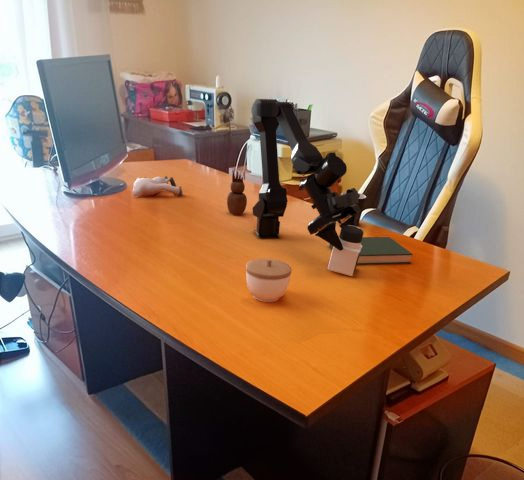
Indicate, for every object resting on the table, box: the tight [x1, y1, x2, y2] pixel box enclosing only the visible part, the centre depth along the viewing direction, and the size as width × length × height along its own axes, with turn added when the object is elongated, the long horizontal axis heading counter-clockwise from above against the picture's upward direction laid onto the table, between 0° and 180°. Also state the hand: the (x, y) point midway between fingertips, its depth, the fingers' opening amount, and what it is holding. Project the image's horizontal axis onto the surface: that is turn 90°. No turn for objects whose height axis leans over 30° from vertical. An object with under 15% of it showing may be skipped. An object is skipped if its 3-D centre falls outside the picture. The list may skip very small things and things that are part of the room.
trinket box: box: [245, 258, 293, 303], centre depth 123 cm, size 11×11×9 cm
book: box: [328, 236, 413, 266], centre depth 156 cm, size 20×15×3 cm
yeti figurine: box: [132, 175, 183, 197], centre depth 197 cm, size 20×7×20 cm
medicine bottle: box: [327, 225, 364, 277], centre depth 140 cm, size 7×7×12 cm
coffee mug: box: [340, 191, 367, 227], centre depth 181 cm, size 12×9×10 cm
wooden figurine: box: [226, 169, 248, 216], centre depth 179 cm, size 7×6×15 cm
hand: (350, 246), depth 139 cm, fingers closed on medicine bottle, 8 cm apart
